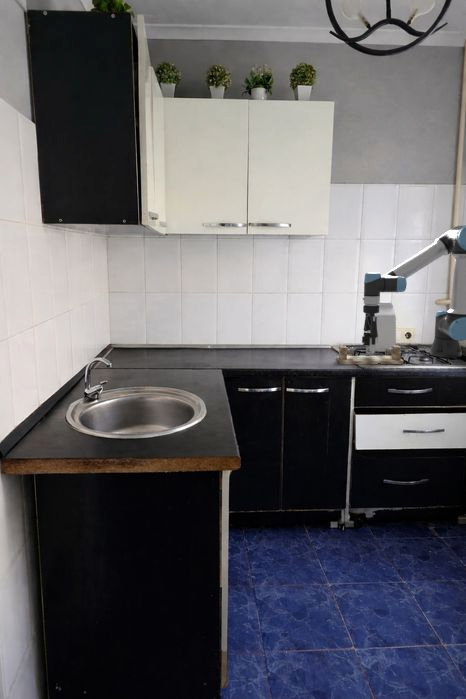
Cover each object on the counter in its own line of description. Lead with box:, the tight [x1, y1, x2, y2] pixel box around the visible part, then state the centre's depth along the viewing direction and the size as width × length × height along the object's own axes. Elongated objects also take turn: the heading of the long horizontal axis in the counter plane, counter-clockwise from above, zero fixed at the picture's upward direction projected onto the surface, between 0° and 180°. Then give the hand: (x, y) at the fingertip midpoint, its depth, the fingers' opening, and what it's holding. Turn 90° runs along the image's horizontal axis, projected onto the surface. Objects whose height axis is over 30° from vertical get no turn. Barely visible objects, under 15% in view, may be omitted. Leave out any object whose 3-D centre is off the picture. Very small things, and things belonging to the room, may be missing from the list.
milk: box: [375, 301, 397, 353], centre depth 278 cm, size 12×12×26 cm
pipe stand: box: [336, 344, 404, 365], centre depth 253 cm, size 30×12×8 cm, turn 87°
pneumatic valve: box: [361, 330, 378, 355], centre depth 252 cm, size 6×12×12 cm, turn 150°
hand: (369, 348), depth 252 cm, fingers closed on pneumatic valve, 12 cm apart
